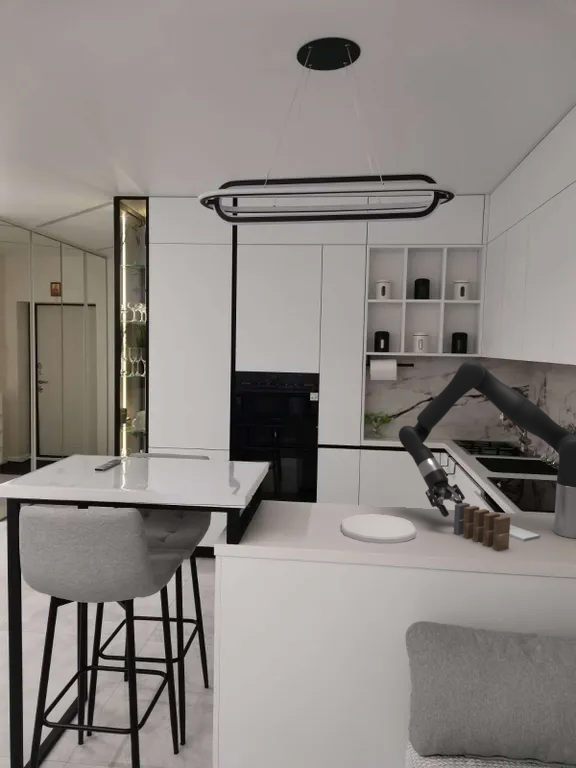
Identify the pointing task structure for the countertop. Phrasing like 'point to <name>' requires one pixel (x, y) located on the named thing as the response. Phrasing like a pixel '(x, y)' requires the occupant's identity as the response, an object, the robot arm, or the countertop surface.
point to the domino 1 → (459, 518)
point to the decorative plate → (378, 528)
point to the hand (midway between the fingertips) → (455, 514)
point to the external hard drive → (522, 534)
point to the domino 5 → (501, 533)
